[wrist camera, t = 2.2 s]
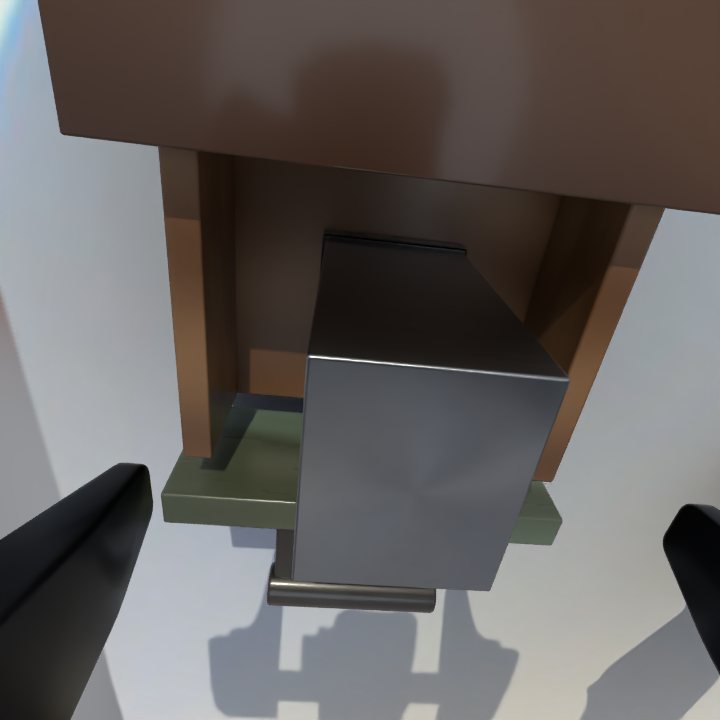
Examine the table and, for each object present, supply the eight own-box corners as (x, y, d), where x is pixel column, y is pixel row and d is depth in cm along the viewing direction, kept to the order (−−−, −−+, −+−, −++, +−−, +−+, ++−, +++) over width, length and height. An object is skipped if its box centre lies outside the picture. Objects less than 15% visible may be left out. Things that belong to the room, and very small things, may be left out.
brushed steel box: (430, 388, 16) (494, 596, 9) (312, 378, 16) (285, 585, 9) (462, 242, 14) (581, 374, 7) (324, 227, 14) (300, 348, 6)
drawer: (482, 524, 21) (516, 626, 17) (209, 507, 20) (173, 610, 16) (648, 33, 12) (803, -10, 8) (181, -38, 11) (84, -128, 7)
